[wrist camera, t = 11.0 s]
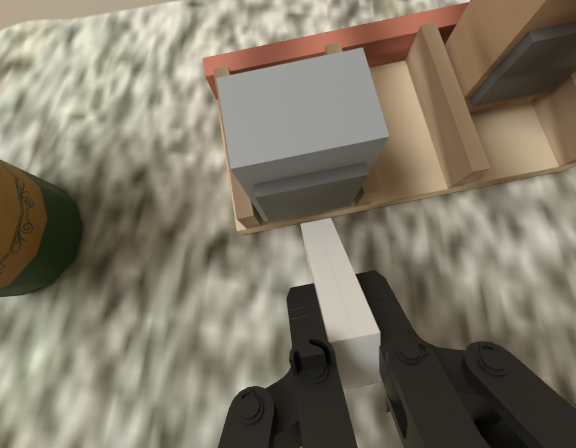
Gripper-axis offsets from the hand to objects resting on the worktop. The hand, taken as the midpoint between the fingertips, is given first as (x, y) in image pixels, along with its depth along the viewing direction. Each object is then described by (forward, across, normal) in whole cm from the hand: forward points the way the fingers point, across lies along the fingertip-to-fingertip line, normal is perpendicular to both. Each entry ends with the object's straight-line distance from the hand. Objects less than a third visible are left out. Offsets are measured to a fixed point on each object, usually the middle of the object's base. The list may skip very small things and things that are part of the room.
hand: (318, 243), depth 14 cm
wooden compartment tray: (+11, +7, +2) cm, 13 cm away
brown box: (+10, +14, +4) cm, 18 cm away
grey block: (+7, 0, 0) cm, 7 cm away
